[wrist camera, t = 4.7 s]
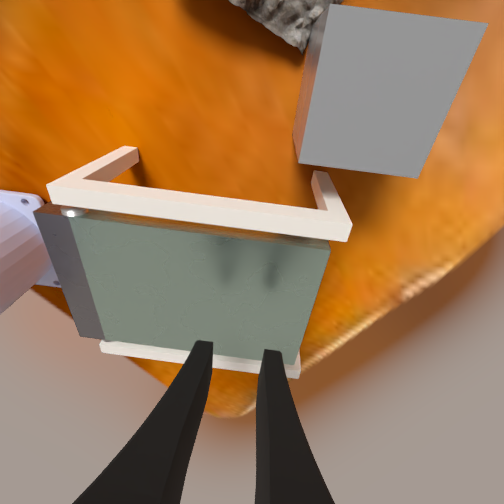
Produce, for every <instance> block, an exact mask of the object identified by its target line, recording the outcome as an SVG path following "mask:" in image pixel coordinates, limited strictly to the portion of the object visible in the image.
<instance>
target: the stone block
mask: <svg viewBox="0 0 504 504" xmlns="http://www.w3.org/2000/svg"><path fill="white" fill-rule="evenodd" d="M488 24H489V23H481V22H473V21H465V20H457V19H449V18H441V17H433V16H425V15H417V14H409V13H401V12H393V11H386V10H378V9H370V8H362V7H354V6H346V5H338V4H329V6H328V7H327V8H326V9H325V11H324V12H323V13H322V14H321V16H320V17H319V18H318V19H317V21H316V22H315V23H314V24H313V26H312V29H311V34H310V38H309V43H308V49H307V54H306V60H305V66H304V71H303V77H302V83H301V88H300V94H299V100H298V105H297V111H296V117H295V122H294V128H293V134H292V135H293V140H294V145H295V150H296V154H297V159H298V163H302V164H310V165H318V166H325V167H333V168H341V169H348V170H356V171H364V172H371V173H379V174H387V175H394V176H402V177H410V178H418V177H419V174H420V172H421V170H422V168H423V166H424V164H425V161H426V159H427V157H428V155H429V153H430V150H431V148H432V146H433V144H434V142H435V139H436V137H437V135H438V133H439V131H440V129H441V126H442V124H443V122H444V120H445V118H446V115H447V113H448V111H449V109H450V107H451V104H452V102H453V100H454V98H455V96H456V94H457V91H458V89H459V87H460V85H461V83H462V80H463V78H464V76H465V74H466V72H467V69H468V67H469V65H470V63H471V61H472V59H473V56H474V54H475V52H476V50H477V48H478V45H479V43H480V41H481V39H482V37H483V34H484V32H485V30H486V28H487V26H488Z"/></svg>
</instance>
